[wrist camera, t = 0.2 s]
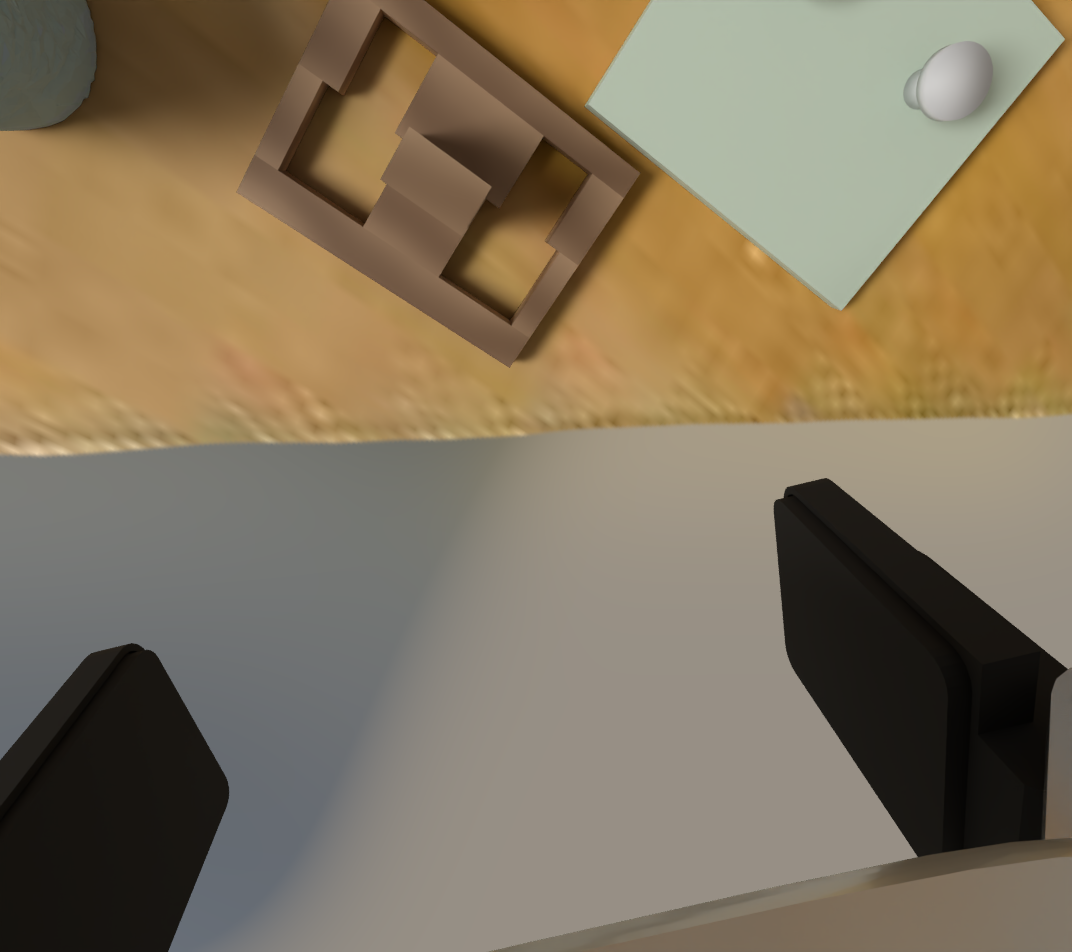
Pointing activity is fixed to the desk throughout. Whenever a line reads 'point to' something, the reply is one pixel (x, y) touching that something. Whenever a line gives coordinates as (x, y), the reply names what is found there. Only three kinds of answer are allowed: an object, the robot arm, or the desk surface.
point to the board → (820, 113)
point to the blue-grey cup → (44, 61)
